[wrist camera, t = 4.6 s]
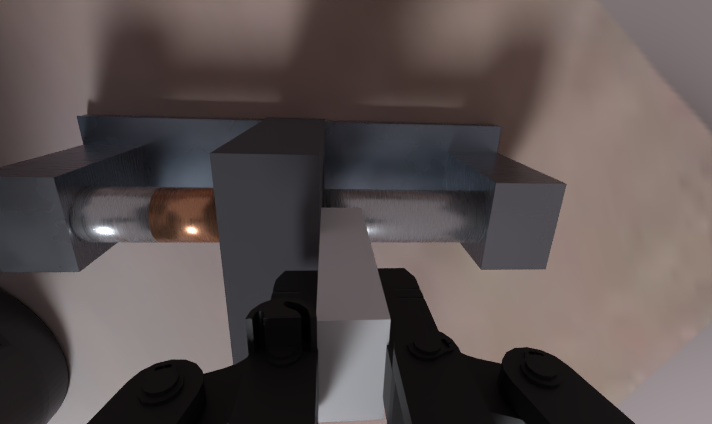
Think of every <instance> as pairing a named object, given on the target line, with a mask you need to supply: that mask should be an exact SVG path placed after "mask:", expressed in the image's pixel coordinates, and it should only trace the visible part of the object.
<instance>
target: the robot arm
mask: <svg viewBox="0 0 712 424" xmlns="http://www.w3.org/2000/svg"><path fill="white" fill-rule="evenodd" d="M245 322H246V332H247V343H248V357H246V358H245V359H244V360H242V361H240V362H238V363H237V364H235V365H232V366H229V367H226V368H223V369H220V370H216V371H213V372H209V373H205V374H203V371H202V370H201V369H200V367H199V366H198V365H197V364H196V363H193V362H190V361H188V360H168V361H164V362H160V363H156V364H154V365H152V366H150V367H148V368H146V369H144V370H142V371H140V372H139V373H138V374H136V375H135V376H134V377H133V378H132V379H130V380H129V381H128V382H127V383H126V384H125V385H124V386H123V387H122V388H121V389H120V390H119V391H118V392H117V393H116V394H115V395H114V396H113V397H112V398H111V399H110V400H109V401H108V402H107V403H106V405H105V406H104V407H103V408H102V409H101V410H100V411H99V412H98V413H97V414H96V415H95V416H94V417H93V418H92V419H91V420H90V421H89V422H88V423H87V424H318V422H337V421H359V420H381V419H383V411H384V408H385V413H386V419H387V424H635V423H634V422H633V421H631V420H630V419H629V418H628V417H627V416H626V415H625V414H624V413H622V412H621V411H620V410H619V409H618V408H617V407H615V406H614V405H613V404H612V403H611V402H610V401H609V400H607V399H606V398H605V397H604V396H603V395H602V394H600V393H599V392H598V391H597V390H596V389H595V388H594V387H592V386H591V385H590V384H589V383H588V382H587V381H585V380H584V379H583V378H582V377H581V376H580V375H578V374H577V373H576V372H575V371H574V370H573V369H572V368H570V367H569V366H568V365H567V364H565V363H564V362H563V361H561V360H560V359H558V358H557V357H555V356H553V355H551V354H549V353H546V352H544V351H542V350H538V349H533V348H528V347H525V348H514V349H512V350H510V351H508V352H506V354H505V356H504V358H503V359H502V364H500V363H496V362H491V361H486V360H482V359H477V358H474V357H470V356H467V355H465V354H463V353H461V352H460V350H459V348H458V347H457V345H456V344H455V343H454V341H453V340H452V339H451V338H449V337H448V336H446V335H445V334H443V333H442V332H439V331H438V329H437V326H436V324H435V322H434V319H433V317H432V315H431V313H430V310H429V308H428V306H427V304H426V301H425V299H424V298H423V294H422V292H421V290H420V288H419V285H418V283H417V281H416V279H415V277H414V276H413V275H412V274H410V273H409V272H408V271H407V270H406V269H404V268H377V265H376V262H375V258H374V254H373V250H372V246H371V243H370V239H369V235H368V231H367V227H366V224H365V220H364V216H363V212H362V208H321V222H320V244H319V265H318V270H302V271H284V272H283V273H282V274H281V275H280V276H279V277H278V278H277V279H276V280H275V284H274V288H273V294H272V296H271V300H269V301H266V302H263V303H261V304H259V305H258V306H256V307H255V308H253V309H252V310H251V311H250V312H249V314H248V315H247V317H246V318H245ZM67 387H68V371H67V365H66V361H65V358H64V355H63V353H62V351H61V349H60V346H59V345H58V343H57V341H56V339H55V338H54V337H53V335H52V334H51V332H50V331H49V330H48V328H47V327H46V326H45V325H44V324H43V323H42V322H41V320H40V319H39V318H38V317H37V316H35V315H34V314H33V313H32V312H31V311H30V310H29V309H28V308H26V307H25V306H24V305H23V304H21V303H20V302H19V301H17V300H16V299H14V298H13V297H11V296H10V295H8V294H6V293H5V292H3V291H1V290H0V424H47V423H48V422H49V420H50V419H51V418H52V417H53V416H54V414H55V413H56V412H57V411H58V409H59V408H60V406H61V404H62V403H63V401H64V398H65V396H66V392H67Z"/></svg>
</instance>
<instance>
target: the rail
mask: <svg viewBox="0 0 712 424" xmlns="http://www.w3.org/2000/svg"><path fill="white" fill-rule="evenodd" d="M77 119H78V123H79V128H80V132H81V136H82V140H83V145H81V146H78V147H74V148H70V149H67V150H63V151H59V152H55V153H52V154H48V155H44V156H41V157H37V158H33V159H29V160H26V161H22V162H18V163H15V164H11V165H7V166H4V167H0V270H1V272H80V271H81V270H83V269H84V268H85V267H86V266H88V265H89V264H90V263H92V262H93V261H94V260H95V259H97V258H98V257H99V256H101V255H102V254H103V253H105V252H106V251H107V250H108V249H110V248H111V247H112V246H114V245H115V244H116V243H118V242H219V233H218V224H217V215H216V206H215V197H214V188H213V180H212V171H211V162H210V153H211V152H212V151H214V150H216V149H217V148H219V147H220V146H222V145H224V144H225V143H227V142H229V141H230V140H232V139H233V138H235V137H237V136H238V135H240V134H241V133H243V132H245V131H246V130H248V129H250V128H251V127H253V126H254V125H256V124H258V123H259V122H261V121H262V120H264V119H237V118H196V117H156V116H116V115H82V116H77ZM500 132H501V126H497V125H478V124H438V123H397V122H357V121H325V189H322V208H362V212H363V216H364V220H365V224H366V227H367V231H368V235H369V239H370V242H460V243H461V245H462V246H463V247H464V249H465V250H466V251H467V252H468V254H469V255H470V256H471V257H472V259H473V260H474V261H475V263H476V264H477V265H478V266H479V268H480V269H481V270H501V269H546V265H547V261H548V257H549V253H550V249H551V245H552V241H553V237H554V233H555V229H556V225H557V221H558V217H559V213H560V209H561V205H562V200H563V196H564V192H565V188H566V184H565V183H563V182H561V181H559V180H557V179H554V178H552V177H550V176H548V175H545V174H543V173H541V172H539V171H536V170H534V169H532V168H530V167H528V166H525V165H523V164H521V163H519V162H516V161H514V160H512V159H510V158H507V157H505V156H503V155H501V154H499V153H497V149H498V143H499V137H500Z"/></svg>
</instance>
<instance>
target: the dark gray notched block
mask: <svg viewBox="0 0 712 424" xmlns="http://www.w3.org/2000/svg"><path fill="white" fill-rule="evenodd" d="M210 162H211V171H212V180H213V188H214V197H215V206H216V215H217V224H218V233H219V242H220V250H221V259H222V268H223V277H224V286H225V295H226V303H227V312H228V321H229V330H230V339H231V348H232V357H233V365H235V364H237V363H238V362H240V361H242V360H244V359H245V358H246V357H248V343H247V332H246V322H245V318H246V317H247V315H248V314H249V312H250V311H251V310H252V309H253V308H255V307H256V306H258V305H259V304H261V303H263V302H266V301H269V300H271V296H272V294H273V288H274V284H275V280H276V279H277V278H278V277H279V276H280V275H281V274H282V273H283V272H284V271H302V270H318V265H319V244H320V222H321V208H322V189H325V119H304V118H266V119H264V120H262V121H261V122H259V123H258V124H256V125H254V126H253V127H251V128H250V129H248V130H246V131H245V132H243V133H241V134H240V135H238V136H237V137H235V138H233V139H232V140H230V141H229V142H227V143H225V144H224V145H222V146H220V147H219V148H217V149H216V150H214V151H212V152H211V153H210Z"/></svg>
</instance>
